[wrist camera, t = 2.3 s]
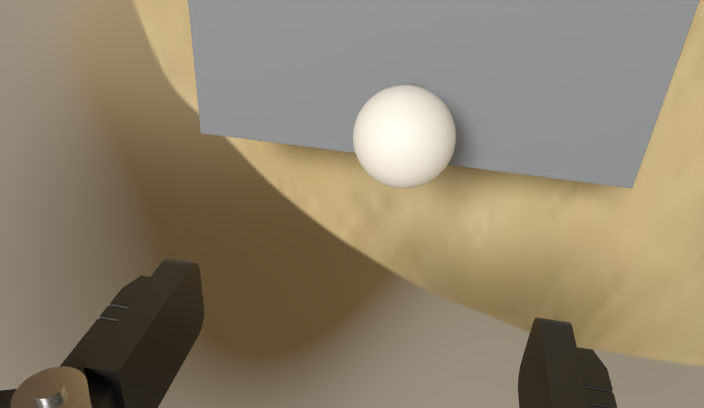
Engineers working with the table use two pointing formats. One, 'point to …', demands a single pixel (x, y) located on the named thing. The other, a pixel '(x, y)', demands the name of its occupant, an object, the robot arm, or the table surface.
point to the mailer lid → (444, 81)
